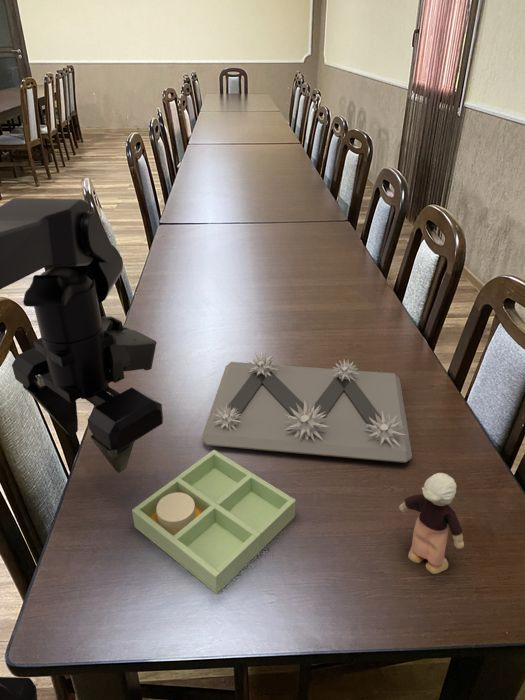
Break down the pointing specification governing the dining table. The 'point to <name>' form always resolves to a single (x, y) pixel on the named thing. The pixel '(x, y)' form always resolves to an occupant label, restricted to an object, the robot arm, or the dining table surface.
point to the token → (175, 512)
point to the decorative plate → (310, 411)
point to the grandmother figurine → (434, 522)
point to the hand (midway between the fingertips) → (96, 450)
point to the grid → (218, 519)
